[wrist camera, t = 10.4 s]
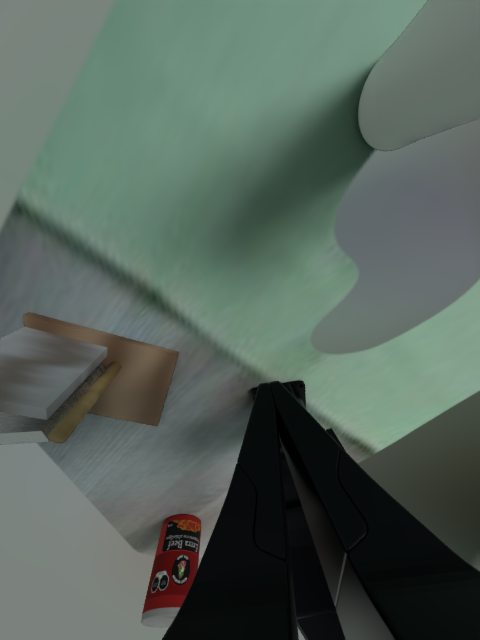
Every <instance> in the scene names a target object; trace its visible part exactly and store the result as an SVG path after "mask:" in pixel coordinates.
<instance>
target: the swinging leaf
mask: <svg viewBox="0 0 480 640" xmlns="http://www.w3.org/2000/svg"><path fill="white" fill-rule="evenodd" d="M104 370H105V368H104V366H103V364H99V365H98V366H97V367H96V368H95V369H94V370H93V372H92V373H91V374H90V375H89V376H88V377H87V378H86V379H85V380H84V381H83V382H82V383H81V384H80V385H79V386H78V388H77V389H76V390H75V391H74V392H73V393H72V394H71V395H70V396H69V397H68V398H67V399H66V400H65V401H64V402H63V404H62V405H61V406H60V407H59V408H58V409H57V410H56V411H55V412H54V413H53V414H52V415H51V416H50V417H49V418H48V419H47V420H44V419H38V418H32V417H27V416H21V415H15V414H10V413H4V412H0V445H3V444H18V443H33V442H49V441H50V439H49V438H48V435H49V434H50V432H51V431H52V430H53V429H54V428H55V427H56V425H57V424H58V423H59V422H60V421H61V420H62V419H63V417H64V416H65V415H66V414H67V413H68V412H69V410H70V409H71V408H72V407H73V406H74V405H75V403H76V402H77V401H78V400H79V399H80V398H81V397H82V395H83V394H84V393H85V392H86V391H87V390H88V388H89V387H90V386H91V385H92V384H93V383H94V382H95V380H96V379H97V378H98V377H99V376H100V375H101V373H102V372H103V371H104Z"/></svg>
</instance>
